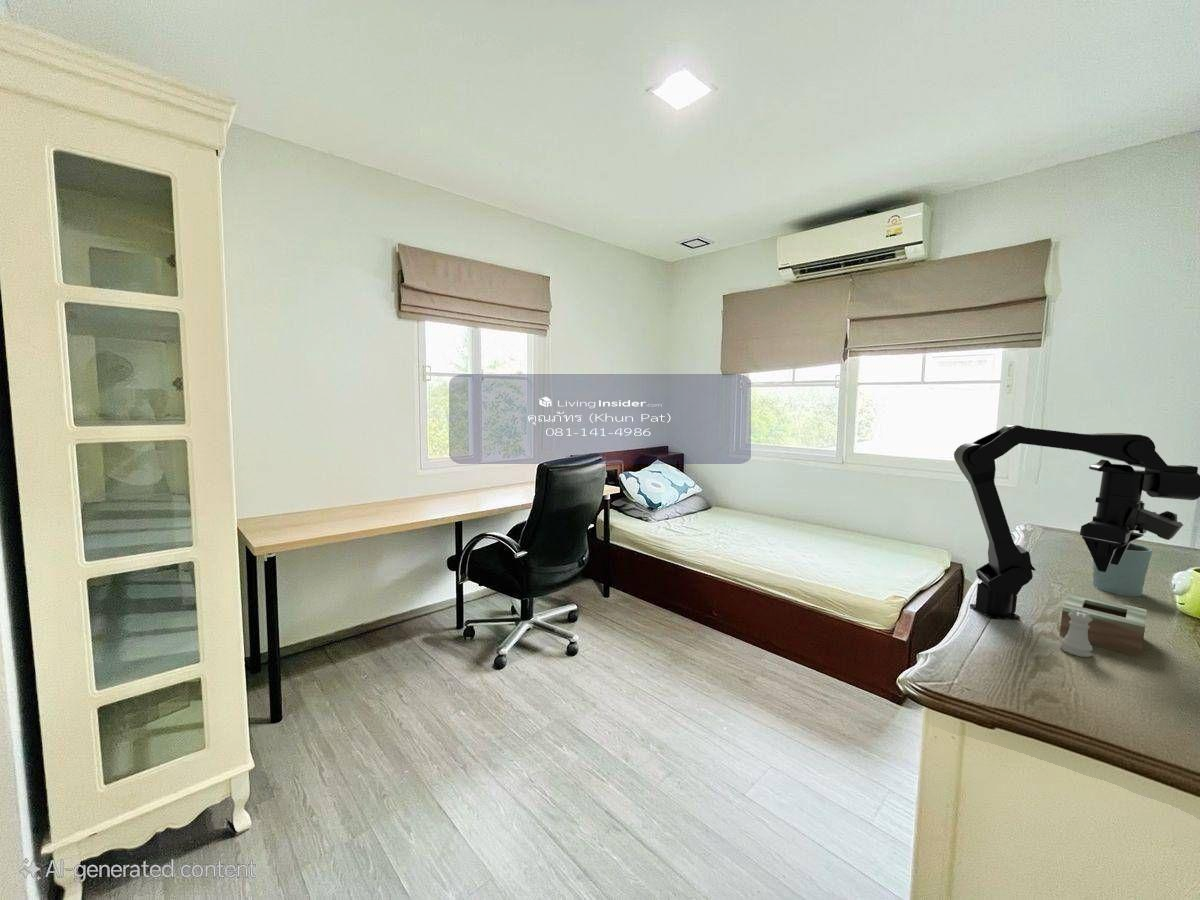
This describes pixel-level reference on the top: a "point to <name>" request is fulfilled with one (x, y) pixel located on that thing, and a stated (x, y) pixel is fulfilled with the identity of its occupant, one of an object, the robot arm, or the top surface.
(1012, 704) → the top surface
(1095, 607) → the box
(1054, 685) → the top surface
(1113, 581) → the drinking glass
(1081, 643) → the rook chess piece
